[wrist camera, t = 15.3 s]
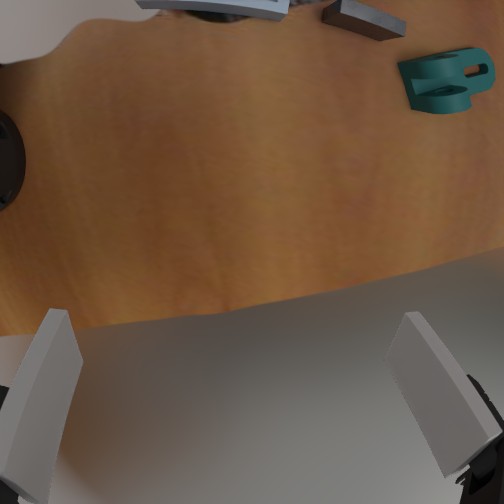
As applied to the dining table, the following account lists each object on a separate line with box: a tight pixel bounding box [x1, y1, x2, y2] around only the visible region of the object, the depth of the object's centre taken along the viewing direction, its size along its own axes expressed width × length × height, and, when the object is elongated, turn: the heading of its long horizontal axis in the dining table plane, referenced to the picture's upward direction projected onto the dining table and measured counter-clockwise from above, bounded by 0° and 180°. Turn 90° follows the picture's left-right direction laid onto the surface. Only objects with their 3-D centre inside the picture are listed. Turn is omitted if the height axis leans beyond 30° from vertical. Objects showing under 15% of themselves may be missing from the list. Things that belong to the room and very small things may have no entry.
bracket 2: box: [397, 48, 495, 114], centre depth 31 cm, size 18×7×8 cm, turn 113°
